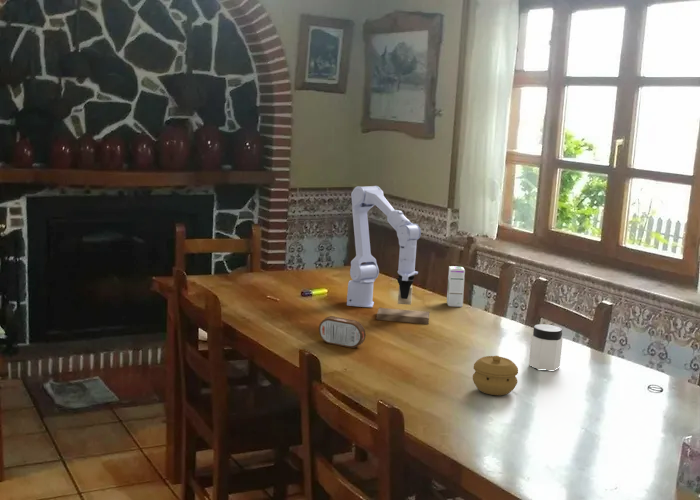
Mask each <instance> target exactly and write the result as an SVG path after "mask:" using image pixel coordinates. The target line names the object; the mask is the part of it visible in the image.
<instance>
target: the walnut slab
mask: <svg viewBox="0 0 700 500" xmlns="http://www.w3.org/2000/svg"><path fill="white" fill-rule="evenodd" d="M376 320H377V321H389V322H399V323H400V322H401V323H413V324H424V325H429V321H430V311H422V310H411V309H410V310H409V309H399V308H387V307H379V308H378V309H377V312H376Z"/></svg>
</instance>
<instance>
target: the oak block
mask: <svg viewBox="0 0 700 500" xmlns="http://www.w3.org/2000/svg"><path fill="white" fill-rule="evenodd" d="M412 296H413V284H412V285H411V287H410V290H409V294H408V298H407V299H402V298H401V294H400V286H399V285H398V296H397V304H398V305H406V306H407V305H410V306H411V305H412Z"/></svg>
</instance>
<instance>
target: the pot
mask: <svg viewBox="0 0 700 500" xmlns="http://www.w3.org/2000/svg"><path fill="white" fill-rule="evenodd" d="M473 369H474V373H472V381H473V383H474V385H475V387H476V388H477V390H479V391H480V392H482V393H484V394H486V395H491V396H504V395H508V394H510V393H511V392H512V391H513V390H514V389H515V388H516V386H517V385H518V379H517V377H516V376H517V375H518V374H519V369H518V366H517V364H515V362H514V361H512V360H511V359H509V358H507V357H502V356H499V355H488V356H483V357H480V358H478V359H477V360H476V361H475V362H474V364H473Z"/></svg>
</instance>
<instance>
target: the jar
mask: <svg viewBox="0 0 700 500" xmlns="http://www.w3.org/2000/svg"><path fill="white" fill-rule="evenodd" d="M532 333H533V334H532V335H531V338H530V339H531V340H530V347H529V358H528V366H529V365H531V366H533V367H535V368H537V369H546V370H555V369H556V368H558V367H559V366H560V365H561V358H562V357H561V355H562V347H563V339H564V338H563V329H562V327H559V326H557V325H554V324H553V325H552V324H548V323H547V324H543V323H540V324H539V323H538V324H535V325H534V326H533V332H532ZM559 368H560V367H559ZM559 368H558V369H559Z"/></svg>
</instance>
